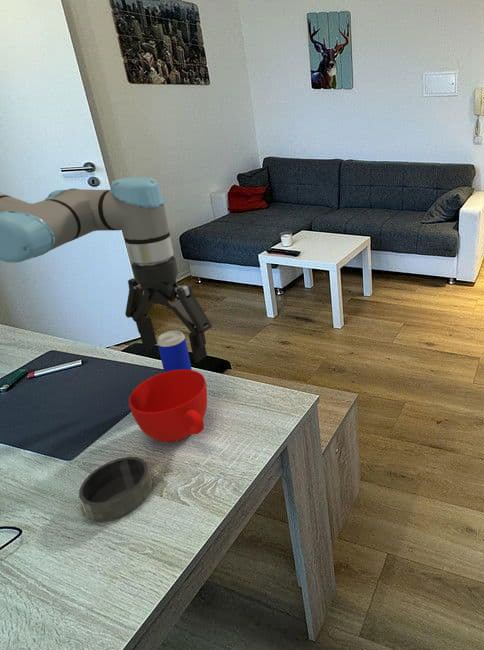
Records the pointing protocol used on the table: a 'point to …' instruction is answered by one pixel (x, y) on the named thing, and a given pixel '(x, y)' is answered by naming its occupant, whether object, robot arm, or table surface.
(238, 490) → the table surface
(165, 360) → the beverage can
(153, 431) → the ceramic cup
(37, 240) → the robot arm
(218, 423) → the table surface
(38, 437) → the table surface
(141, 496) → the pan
